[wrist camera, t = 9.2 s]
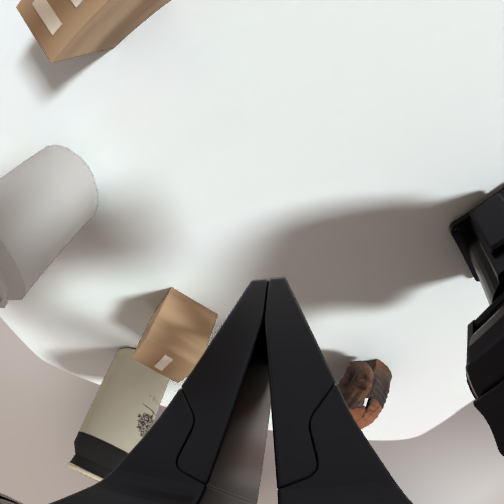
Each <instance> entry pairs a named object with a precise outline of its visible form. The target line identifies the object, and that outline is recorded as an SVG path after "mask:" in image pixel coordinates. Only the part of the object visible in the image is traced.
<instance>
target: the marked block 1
mask: <svg viewBox="0 0 504 504" xmlns="http://www.w3.org/2000/svg"><path fill="white" fill-rule="evenodd" d="M169 1H170V0H21V1H20V2H19V4H18V5H17V7H16V8H17V9H18V11H19V13H20V14H21V16H22V18H23V19H24V21H25V22H26V24H27V26H28V27H29V29H30V30H31V32H32V34H33V35H34V37H35V38H36V40H37V42H38V43H39V45H40V46H41V48H42V49H43V51H44V53H45V54H46V56H47V57H48V59H49V60H50V62H51V63H55V62H58V61H62V60H65V59H69V58H73V57H76V56H80V55H84V54H89V53H93V52H97V51H102V50H106V49H111V48H114V47H115V46H116V45H118V44H119V43H120V42H121V41H122V40H123V39H124V38H125V37H126V36H127V35H129V34H130V33H131V32H132V31H133V30H134V29H135V28H137V27H138V26H139V25H140V24H141V23H143V22H144V21H145V20H146V19H147V18H149V17H150V16H151V15H152V14H154V13H155V12H156V11H157V10H159V9H160V8H161V7H163V6H164V5H165V4H166V3H168V2H169Z"/></svg>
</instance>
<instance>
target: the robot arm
mask: <svg viewBox="0 0 504 504" xmlns="http://www.w3.org/2000/svg"><path fill="white" fill-rule="evenodd" d="M455 228H458V229H457V230H454V229H455ZM449 230H450V232H451V234H452V236H453V238H454V240H455V241H456V243H457V245H458V247H459V249H460V251H461V253H462V254H463V256H464V258H465V260H466V262H467V264H468V266H469V268H470V270H471V272H472V274H473V276H474V278H475V280H476V281H480V282H481V284H482V287H483V289H484V292H485V294H486V297H487V299H488V302H489V304H490V306H489V307H488V308H487V309H486V310H485V311H484V312H483V313H482V314H481V315H480V316H479V317H478V318H477V319H476V320H473V321H472V322H471V323H470V324H469V325H468V338H467V365H466V377H467V383H468V385H469V388H470V390H471V392H472V394H473V396H474V398H475V399H476V400H474V406H475V407H476V408H477V409H478V410H479V411H480V412H481V414H482V415H483V416H484V418H485V419H486V421H487V423H488V424H489V426H490V428H491V430H492V433H493V435H494V438H495V441H496V444H497V447H498V450H499V452H500V453H501V454H502V455H503V456H504V188H503V189H502V190H500V191H499V192H498V193H496V194H495V195H493V196H492V197H490V198H489V199H488V200H486V201H485V202H483V203H482V204H480V205H479V206H477V207H476V208H474V209H473V210H471V211H470V212H468V213H467V214H465V215H464V216H462V217H461V218H459V219H458V220H456V221H455V222H453V223H452V224H451V225H450V228H449ZM270 407H271V411H272V424H273V438H274V450H275V465H276V478H277V488H278V504H413V503H412V502H411V501H410V500H409V499H408V498H407V497H406V495H405V494H404V493H403V492H402V490H401V489H400V488H399V486H398V485H397V484H396V482H395V481H394V479H393V478H392V477H391V475H390V473H389V472H388V470H387V469H386V468H385V466H384V464H383V463H382V461H381V460H380V458H379V457H378V456H377V454H376V452H375V451H374V449H373V448H372V446H371V445H370V444H369V442H368V440H367V439H366V437H365V436H364V434H363V432H362V431H361V429H360V428H359V426H358V424H357V423H356V421H355V419H354V418H353V416H352V414H351V412H350V410H349V408H348V406H347V404H346V402H345V400H344V398H343V396H342V394H341V392H340V390H339V387H338V385H336V381H335V379H334V377H333V375H332V373H331V371H330V369H329V367H328V365H327V362H326V360H325V358H324V356H323V354H322V352H321V350H320V348H319V346H318V344H317V341H316V339H315V337H314V335H313V333H312V331H311V329H310V327H309V325H308V323H307V321H306V319H305V317H304V314H303V312H302V310H301V308H300V306H299V304H298V302H297V300H296V298H295V296H294V294H293V292H292V290H291V288H290V286H289V284H288V282H287V280H286V278H285V277H279V278H271V279H269V280H268V279H258V280H253V281H251V282H250V284H249V285H248V287H247V288H246V290H245V292H244V293H243V295H242V296H241V298H240V299H239V301H238V302H237V304H236V305H235V307H234V308H233V310H232V311H231V313H230V314H229V316H228V317H227V319H226V320H225V322H224V323H223V325H222V326H221V328H220V329H219V331H218V332H217V334H216V335H215V337H214V338H213V340H212V342H211V343H210V345H209V346H208V348H207V349H206V351H205V352H204V354H203V355H202V357H201V358H200V359H199V361H198V362H197V364H196V365H195V367H194V368H193V370H192V371H191V373H190V374H189V376H188V377H187V379H186V380H185V382H184V383H183V385H182V389H179V390H178V392H177V393H176V395H175V396H174V398H173V399H172V401H171V402H170V404H169V405H168V406H167V408H166V409H165V411H164V412H163V413H162V415H161V416H160V417H159V419H158V420H157V421H156V422H155V424H154V425H153V426H152V427H151V428H150V430H149V431H148V432H147V433H146V434H145V436H144V437H143V438H142V439H141V440H140V441H139V442H138V443H137V445H136V446H135V447H134V448H133V449H132V450H131V451H130V452H129V454H128V455H127V456H126V457H125V458H124V459H123V460H122V461H121V463H120V464H119V465H118V466H117V467H116V468H115V469H114V470H113V471H112V472H111V473H110V474H109V475H108V476H106V477H105V478H104V479H103V480H101V481H100V482H98V483H96V484H95V485H93V486H91V487H88V488H86V489H84V490H82V491H79V492H77V493H75V494H72V495H70V496H67V497H65V498H63V499H60V500H58V501H55V502H52V503H50V504H257V500H258V494H259V487H260V481H261V474H262V467H263V460H264V452H265V445H266V438H267V430H268V423H269V415H270ZM0 504H22V503H20V502H18V501H16V500H14V499H12V498H10V497H8V496H6V495H4V494H1V493H0Z"/></svg>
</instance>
